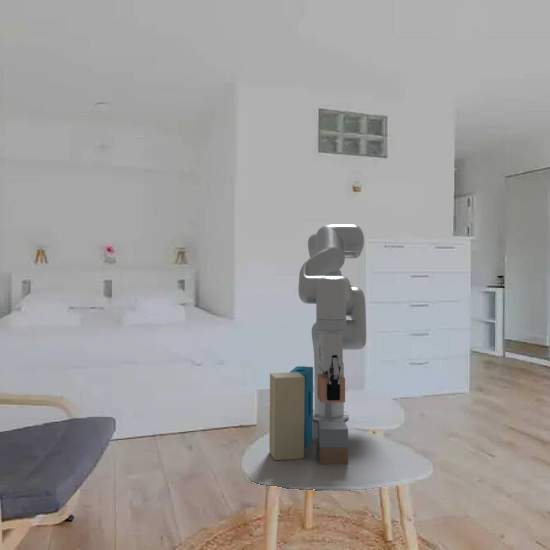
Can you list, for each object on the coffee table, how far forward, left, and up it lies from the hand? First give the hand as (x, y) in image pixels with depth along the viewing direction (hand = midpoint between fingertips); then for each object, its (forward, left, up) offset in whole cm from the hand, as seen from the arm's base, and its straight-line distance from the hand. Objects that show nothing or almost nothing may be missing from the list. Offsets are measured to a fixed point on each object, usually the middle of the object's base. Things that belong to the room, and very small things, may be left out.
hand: (331, 396), depth 136 cm
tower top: (0, 0, -12) cm, 12 cm away
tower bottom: (0, 0, -16) cm, 16 cm away
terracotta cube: (0, 0, -1) cm, 1 cm away
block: (-14, -6, -16) cm, 22 cm away
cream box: (-4, -11, -16) cm, 20 cm away
